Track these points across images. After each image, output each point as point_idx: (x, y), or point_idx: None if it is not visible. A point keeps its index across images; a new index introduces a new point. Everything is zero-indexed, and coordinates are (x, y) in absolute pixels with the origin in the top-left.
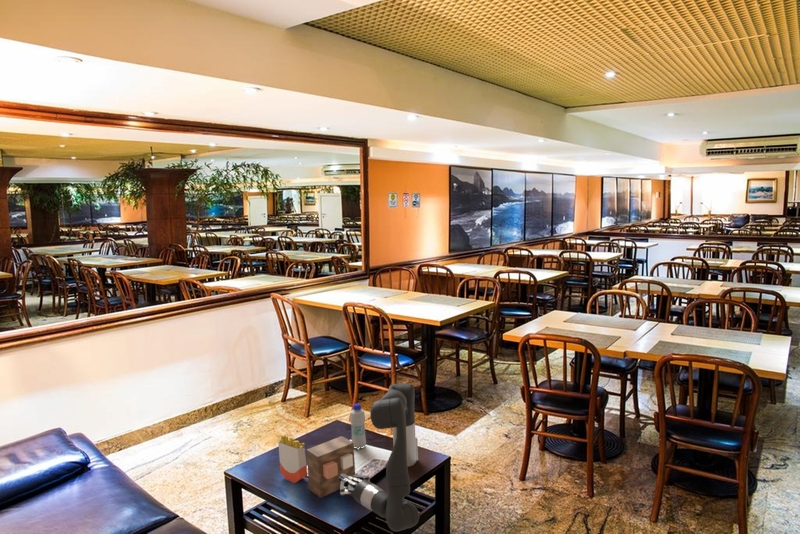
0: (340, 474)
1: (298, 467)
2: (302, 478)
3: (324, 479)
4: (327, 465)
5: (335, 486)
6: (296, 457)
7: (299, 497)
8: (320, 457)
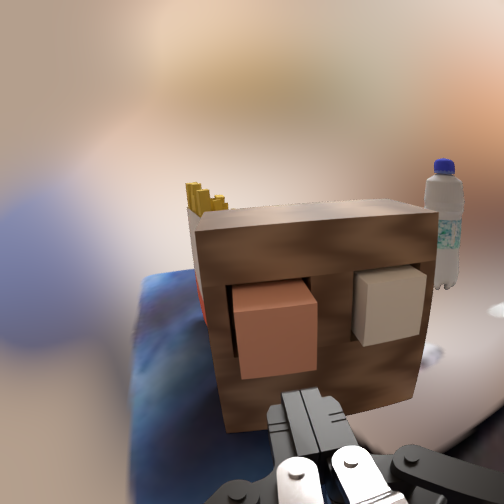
0: (291, 392)
1: None
2: None
3: None
4: (252, 299)
5: None
6: None
7: (169, 392)
8: (213, 239)
